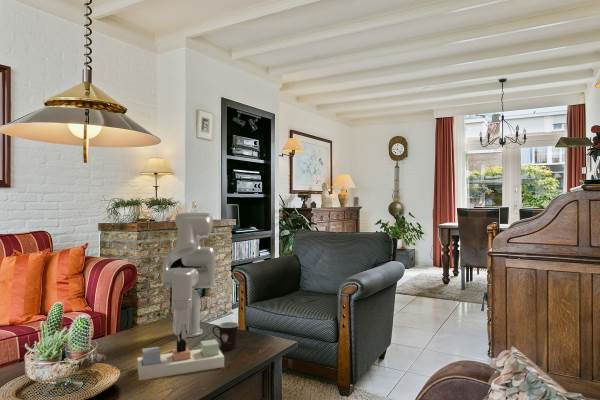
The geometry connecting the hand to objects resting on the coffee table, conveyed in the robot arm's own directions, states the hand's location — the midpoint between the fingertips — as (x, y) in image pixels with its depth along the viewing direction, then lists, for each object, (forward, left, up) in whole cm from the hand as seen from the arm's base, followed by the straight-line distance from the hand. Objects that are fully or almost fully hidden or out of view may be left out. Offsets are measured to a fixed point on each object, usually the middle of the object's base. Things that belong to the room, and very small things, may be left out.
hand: (181, 350), depth 158 cm
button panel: (0, 0, -6) cm, 7 cm away
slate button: (0, -11, -3) cm, 11 cm away
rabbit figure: (-21, -34, -7) cm, 40 cm away
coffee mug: (-16, +22, -7) cm, 28 cm away
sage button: (0, +11, -3) cm, 11 cm away
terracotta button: (0, 0, -5) cm, 5 cm away
